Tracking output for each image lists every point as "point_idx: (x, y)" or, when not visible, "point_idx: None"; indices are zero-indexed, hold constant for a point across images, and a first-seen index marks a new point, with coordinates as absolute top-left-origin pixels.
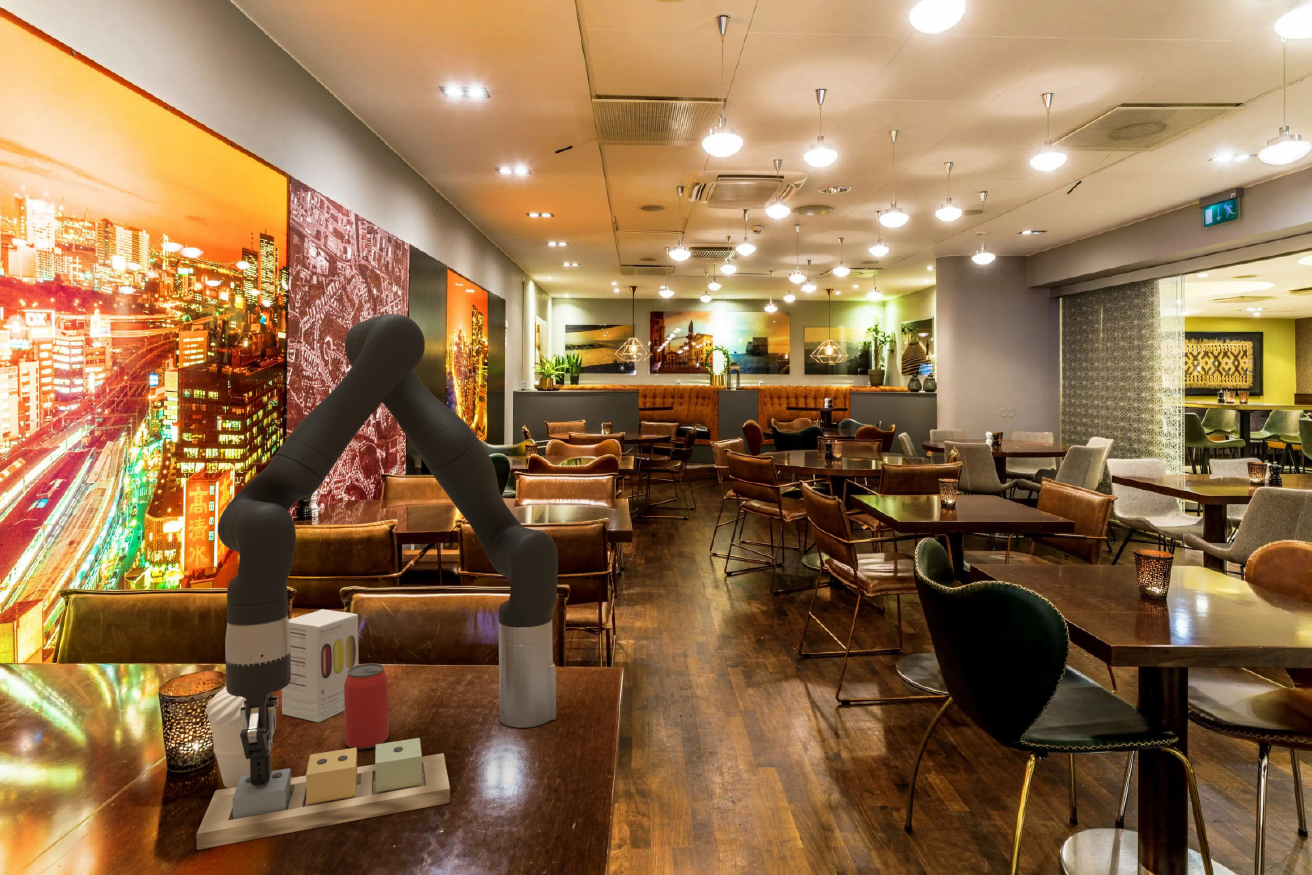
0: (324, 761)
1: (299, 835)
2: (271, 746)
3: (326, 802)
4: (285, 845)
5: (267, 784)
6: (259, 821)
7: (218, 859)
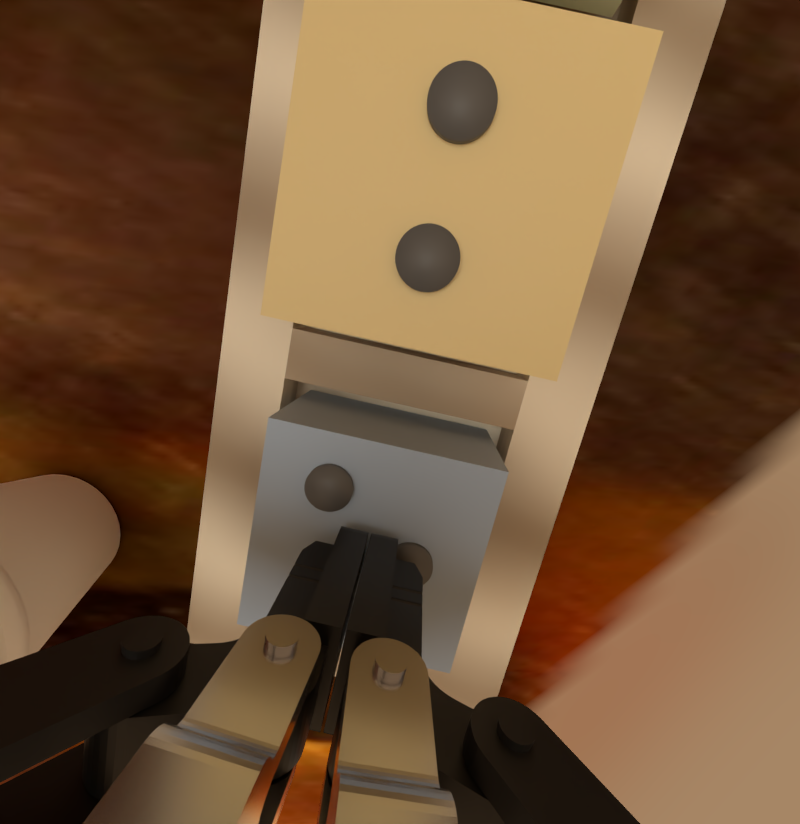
0: (450, 243)
1: (604, 393)
2: (293, 633)
3: None
4: (640, 444)
5: (400, 536)
6: (541, 538)
7: (583, 622)
